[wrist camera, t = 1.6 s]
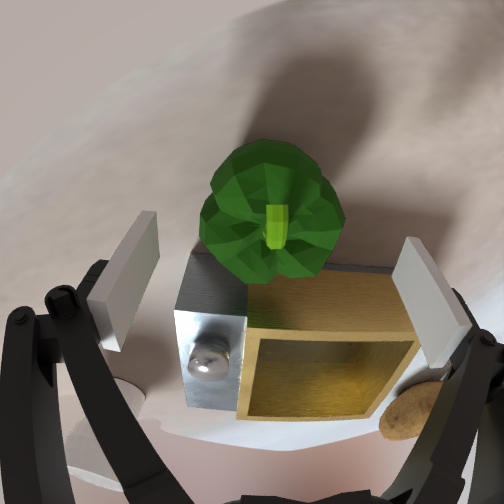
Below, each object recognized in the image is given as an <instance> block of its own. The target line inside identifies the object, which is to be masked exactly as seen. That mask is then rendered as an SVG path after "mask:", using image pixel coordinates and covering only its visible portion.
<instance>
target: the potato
mask: <svg viewBox="0 0 504 504" xmlns="http://www.w3.org/2000/svg"><path fill="white" fill-rule="evenodd" d="M442 384H443V382H438V381H430V382H423V383H420V384H416V385H414V386H413V387H411V388H409V389H408V390H406V391H405V392H404V393H402V394H401V395H400V396H398V397H397V398H396V399H395V400H393V401H392V402H391V403H390V405H389V406H388V407H387V408H386V410H385V411H384V413H383V415H382V416H381V418H380V422H379V429H380V432H381V434H382V435H383V437H384V438H385V439H388V440H405V439H409V438H413V437H417V436H419V435H420V433H421V431H422V429H423V427H424V425H425V423H426V421H427V419H428V417H429V415H430V412H431V410H432V408H433V406H434V403H435V401H436V399H437V396H438V394H439V392H440V389H441V387H442Z"/></svg>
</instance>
